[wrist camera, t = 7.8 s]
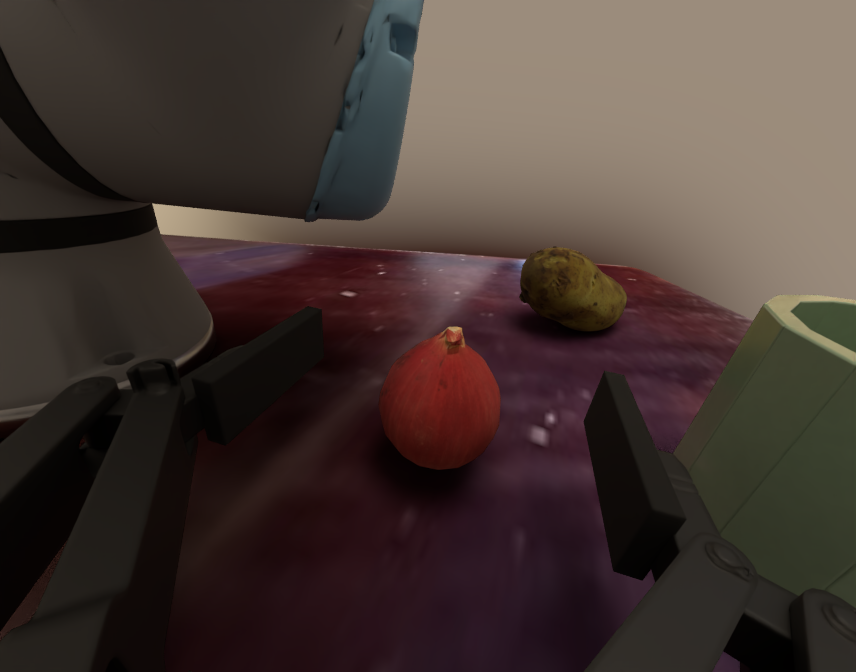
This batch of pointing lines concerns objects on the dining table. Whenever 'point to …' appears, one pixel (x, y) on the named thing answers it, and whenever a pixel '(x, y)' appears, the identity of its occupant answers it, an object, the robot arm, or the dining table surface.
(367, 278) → the dining table surface
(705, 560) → the robot arm
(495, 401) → the onion
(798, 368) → the pot
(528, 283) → the potato
